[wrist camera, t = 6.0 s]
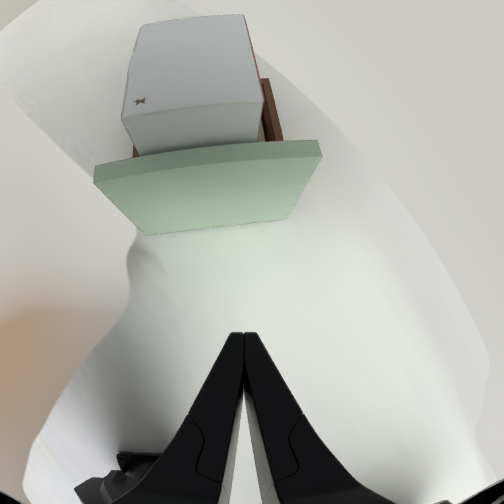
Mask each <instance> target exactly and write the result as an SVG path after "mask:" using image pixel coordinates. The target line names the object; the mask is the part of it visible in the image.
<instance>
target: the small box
mask: <svg viewBox="0 0 504 504" xmlns="http://www.w3.org/2000/svg"><path fill="white" fill-rule="evenodd" d="M263 105H264V95H263V90H262V86H261V81H260V77H259V72H258V68H257V64H256V60H255V56H254V52H253V47H252V43H251V40H250V36H249V32H248V28H247V24H246V20H245V17H244V15H241V14H238V15H217V16H203V17H192V18H183V19H176V20H169V21H163V22H157V23H152V24H146V25H143V26H142V27H141V28H140V31H139V33H138V37H137V40H136V44H135V47H134V51H133V54H132V57H131V60H130V64H129V68H128V74H127V83H126V89H125V95H124V102H123V108H122V115H121V120H122V122H123V124H124V126H125V128H126V130H127V132H128V134H129V136H130V138H131V140H132V142H133V144H134V146H135V148H136V150H137V152H138V153H139V155H140V157H141V156H147V155H152V154H158V153H165V152H171V151H178V150H186V149H193V148H201V147H210V146H220V145H230V144H242V143H255V142H257V140H258V134H259V128H260V121H261V116H262V110H263Z"/></svg>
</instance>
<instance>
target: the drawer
mask: <svg viewBox="0 0 504 504" xmlns="http://www.w3.org/2000/svg"><path fill="white" fill-rule="evenodd" d="M321 158H322V154H321V150H320V147H319V143H318V140H298V141H272V142H266V141H265V136H264V131H263V126H262V121H260V128H259V134H258V140H257V142H255V143H242V144H230V145H220V146H210V147H201V148H193V149H186V150H178V151H171V152H165V153H158V154H152V155H147V156H141V157H135V158H130V159H125V160H120V161H115V162H110V163H106V164H101V165H97V166H95V172H94V182H93V183H94V184H95V185H96V186H97V187H98V188H99V189H100V190H101V191H102V192H103V193H104V194H105V196H107V198H108V199H109V200H110V201H111V202H112V203H113V204H114V205H116V207H118V209H119V210H120V211H121V212H122V213H123V214H124V215H125V216H126V217H127V218H128V219H129V220H131V221H132V222H133V223H134V224H135V225H136V226H137V227H138V228H139V229H140V230H141V231H142V232H143V233H144V234H145V235H153V234H161V233H168V232H176V231H184V230H192V229H201V228H209V227H218V226H227V225H236V224H245V223H254V222H264V221H274V220H284V219H287V218H288V216H289V214H290V212H291V211H292V209H293V207H294V205H295V204H296V202H297V200H298V198H299V197H300V195H301V193H302V191H303V190H304V188H305V186H306V184H307V183H308V181H309V179H310V177H311V176H312V174H313V172H314V170H315V169H316V167H317V165H318V163H319V162H320V160H321Z"/></svg>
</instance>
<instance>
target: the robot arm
mask: <svg viewBox="0 0 504 504" xmlns="http://www.w3.org/2000/svg"><path fill="white" fill-rule="evenodd" d="M243 394H244V397H245V404H246V410H247V417H248V423H249V429H250V436H251V442H252V448H253V454H254V459H255V465H256V471H257V477H258V482H259V488H260V493H261V499H262V504H396V503H394V502H392V501H390V500H388V499H387V498H385V497H383V496H381V495H379V494H377V493H375V492H374V491H372V490H370V489H368V488H367V487H365V486H363V485H362V484H361V483H359V482H358V481H357V480H356V479H355V478H354V477H353V476H352V475H351V474H350V473H349V472H348V471H347V470H346V469H345V468H344V466H343V465H342V464H341V463H340V462H339V461H338V459H337V458H336V457H335V456H334V455H333V454H332V452H331V451H330V450H329V449H328V448H327V447H326V445H325V444H324V443H323V441H322V440H321V439H320V438H319V436H318V435H317V433H316V432H315V430H314V429H313V427H312V426H311V424H310V423H309V421H308V419H307V418H306V416H305V415H304V414H303V411H302V410H301V408H300V406H299V405H298V403H297V401H296V400H295V398H294V396H293V395H292V393H291V391H290V390H289V388H288V386H287V384H286V383H285V381H284V379H283V378H282V376H281V374H280V372H279V371H278V369H277V367H276V365H275V364H274V362H273V360H272V358H271V357H270V355H269V353H268V351H267V350H266V348H265V346H264V344H263V343H262V341H261V339H260V337H259V336H258V334H257V333H256V332H245V333H244V334H243V333H242V332H231V333H230V334H229V336H228V338H227V340H226V342H225V344H224V346H223V348H222V350H221V352H220V354H219V356H218V357H217V359H216V361H215V363H214V365H213V367H212V369H211V371H210V373H209V375H208V376H207V378H206V380H205V382H204V384H203V386H202V388H201V390H200V392H199V393H198V395H197V397H196V399H195V401H194V403H193V405H192V407H191V408H190V410H189V412H188V414H189V415H187V416H186V417H185V419H184V421H183V423H182V425H181V426H180V428H179V430H178V431H177V433H176V435H175V437H174V438H173V439H172V441H171V442H170V444H169V445H168V447H167V448H166V449H165V451H164V452H163V453H162V454H156V453H134V452H119V453H118V454H117V460H118V463H119V466H120V469H121V471H119V470H111V471H110V473H109V474H108V475H107V476H105V477H104V478H96V477H93V478H90V479H89V480H86V481H85V482H84V483H82V484H80V485H78V486H77V487H75V488H74V490H75V492H76V494H77V495H78V497H79V499H80V500H81V502H82V504H229V501H230V494H231V487H232V480H233V472H234V465H235V457H236V450H237V442H238V434H239V427H240V419H241V411H242V403H243ZM121 456H123V457H124V458H122V457H121ZM0 504H24V503H23V502H21V501H19V500H17V499H15V498H14V497H12V496H10V495H8V494H6V493H4V492H2V491H0ZM434 504H452V503H451V502H449V501H448V500H443V501H440V502H437V503H434ZM458 504H504V479H502V480H500V481H498V482H496V483H494V484H492V485H490V486H488V487H487V488H485V489H483V490H481V491H480V492H478V493H476V494H474V495H472V496H471V497H469V498H467V499H466V500H464V501H462V502H460V503H458Z"/></svg>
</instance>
